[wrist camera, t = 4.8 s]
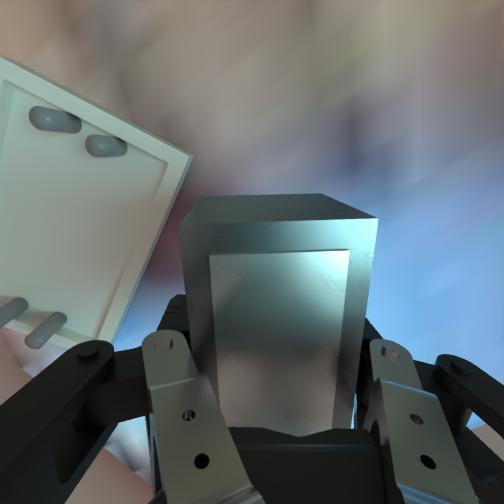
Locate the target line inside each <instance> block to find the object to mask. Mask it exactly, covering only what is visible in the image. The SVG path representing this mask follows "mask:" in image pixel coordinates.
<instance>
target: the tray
mask: <svg viewBox="0 0 504 504" xmlns="http://www.w3.org/2000/svg"><path fill="white" fill-rule="evenodd" d="M193 158H194V155H192V154H190V153H189V152H187V151H185V150H183V149H181V148H179V147H177V146H175V145H173V144H172V143H170V142H168V141H166V140H164V139H162V138H160V137H158V136H156V135H154V134H153V133H151V132H149V131H147V130H145V129H143V128H141V127H139V126H137V125H136V124H134V123H132V122H130V121H128V120H126V119H124V118H122V117H120V116H118V115H117V114H115V113H113V112H111V111H109V110H107V109H105V108H103V107H101V106H100V105H98V104H96V103H94V102H92V101H90V100H88V99H86V98H84V97H83V96H81V95H79V94H77V93H75V92H73V91H71V90H69V89H67V88H65V87H64V86H62V85H60V84H58V83H56V82H54V81H52V80H50V79H48V78H47V77H45V76H43V75H41V74H39V73H37V72H35V71H33V70H31V69H29V68H28V67H26V66H24V65H22V64H20V63H18V62H16V61H13V60H11V59H8V58H6V57H3V56H1V55H0V329H1V328H2V327H5V328H8V329H11V330H14V331H17V332H19V333H22V334H25V335H28V336H27V337H26V338H25V344H26V345H27V346H28V347H30V348H32V349H39V348H41V347H42V346H43V345H44V344H45V343H46V342H48V343H51V344H54V345H57V346H60V347H63V348H65V349H70V348H71V347H73V346H75V345H77V344H79V343H82V342H86V341H90V340H104V341H107V342H110V343H111V344H112V345H113V344H114V342H115V340H116V337H117V335H118V333H119V330H120V328H121V326H122V323H123V321H124V319H125V316H126V314H127V312H128V309H129V307H130V305H131V303H132V300H133V298H134V296H135V293H136V291H137V289H138V286H139V284H140V282H141V279H142V277H143V275H144V272H145V270H146V268H147V265H148V263H149V261H150V258H151V256H152V254H153V251H154V249H155V247H156V244H157V242H158V240H159V237H160V235H161V233H162V230H163V228H164V226H165V223H166V221H167V219H168V216H169V214H170V212H171V209H172V207H173V205H174V203H175V200H176V198H177V196H178V193H179V191H180V189H181V186H182V184H183V182H184V179H185V177H186V175H187V172H188V170H189V168H190V165H191V163H192V161H193Z"/></svg>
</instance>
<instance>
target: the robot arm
mask: <svg viewBox="0 0 504 504" xmlns="http://www.w3.org/2000/svg"><path fill="white" fill-rule="evenodd" d="M355 393H356V396H355V400H354V429H343V428H333V429H329V430H325V431H322V432H318V433H314V434H310V435H307V436H302V437H298V436H293V435H290V434H286V433H282V432H278V431H274V430H270V429H266V428H262V427H228V426H227V424H226V422H225V419H224V417H223V414H222V412H221V409H220V407H219V404H218V402H217V400H216V397H215V395H214V392H213V390H212V387H211V385H210V382H209V380H208V378H207V376H206V374H205V373H200V374H199V373H198V371H197V368H196V365H195V363H194V360H193V357H192V348H191V339H190V330H189V320H188V311H187V302H186V295H182V294H177V295H176V296H175V297H173V298H172V299H171V300H170V301H169V304H168V306H167V308H166V310H165V314H164V315H163V317H162V319H161V322H160V324H159V326H158V328H157V330H156V332H153V333H151V334H149V335H148V336H147V337H145V338H144V340H143V341H142V346H140V347H137V348H134V349H129V350H123V351H117V352H114V347H113V345H112V344H111V343H110V342H107V341H104V340H90V341H86V342H82V343H79V344H77V345H75V346H73V347H71V348H70V349H68V350H67V351H66V352H65V353H63V354H62V355H61V356H60V357H59V358H57V359H56V360H55V361H54V362H53V363H51V364H50V365H49V366H48V367H46V368H45V369H44V370H43V371H42V372H40V373H39V374H38V375H37V376H36V377H34V378H33V379H32V380H31V381H30V382H28V383H27V384H26V385H25V386H24V387H22V388H21V389H20V390H19V391H18V392H16V393H15V394H14V395H13V396H11V397H10V398H9V399H8V400H7V401H5V402H4V403H3V404H2V405H0V504H64V503H65V502H66V500H67V499H68V498H69V496H70V495H71V493H72V492H73V490H74V489H75V487H76V486H77V484H78V483H79V481H80V480H81V478H82V477H83V475H84V474H85V472H86V471H87V469H88V468H89V467H90V465H91V464H92V462H93V461H94V459H95V458H96V456H97V455H98V453H99V452H100V450H101V449H102V447H103V446H104V444H105V443H106V441H107V440H108V438H109V437H110V436H111V434H112V433H113V431H114V430H115V428H116V426H117V425H118V423H119V422H123V421H127V420H131V419H134V418H138V417H142V416H145V421H146V429H147V438H148V446H149V454H150V463H151V475H152V487H153V497H154V498H153V499H152V500H151V501H150V502H149V503H148V504H479V503H478V500H477V498H476V496H477V497H478V498H479V499H480V500H481V502H482V503H483V504H504V461H503V460H501V458H499V457H498V456H497V455H496V454H495V453H494V452H493V451H492V450H491V449H490V448H489V447H488V446H487V445H486V444H485V443H484V442H482V441H481V440H480V439H479V438H478V437H477V436H476V435H475V434H474V433H473V432H472V431H471V430H470V429H469V428H468V427H466V425H467V423H468V421H469V419H470V416H471V414H472V412H474V413H475V414H476V415H477V416H478V417H480V418H481V419H482V420H483V421H484V422H485V423H487V424H488V425H489V426H490V427H491V428H492V429H494V430H495V431H496V432H497V433H498V434H499V435H500V436H501V437H502V438H503V439H504V385H503V384H501V383H500V382H498V381H497V380H495V379H494V378H493V377H491V376H490V375H488V374H487V373H486V372H484V371H483V370H481V369H480V368H479V367H477V366H476V365H474V364H473V363H471V362H469V361H467V360H465V359H463V358H460V357H457V356H454V355H449V354H442V355H439V356H438V357H437V359H436V362H435V365H432V364H428V363H424V362H420V361H416V360H413V358H412V356H411V354H410V353H409V351H408V350H407V349H405V348H404V347H403V346H401V345H399V344H397V343H395V342H393V341H390V340H386V339H383V338H382V337H381V335H380V334H379V333H378V332H377V330H376V329H375V328H374V327H373V325H372V324H370V322H369V321H368V319H367V318H365V323H364V330H363V338H362V346H361V353H360V361H359V368H358V376H357V383H356V391H355Z"/></svg>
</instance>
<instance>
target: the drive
mask: <svg viewBox="0 0 504 504" xmlns="http://www.w3.org/2000/svg"><path fill="white" fill-rule="evenodd" d="M377 225H378V218H376V217H374V216H372V215H369V214H367V213H365V212H362V211H360V210H358V209H356V208H353V207H351V206H349V205H346V204H344V203H342V202H339V201H337V200H335V199H332V198H330V197H328V196H326V195H323V194H321V193H316V194H278V195H240V196H201V198H200V199H199V200H198V201H197V203H196V204H195V205H194V206H193V207H192V209H191V210H190V211H189V212H188V213H187V215H186V216H185V217H184V218H183V219H182V221H181V222H180V223H179V224H178V227H179V236H180V246H181V255H182V264H183V274H184V283H185V292H186V302H187V311H188V320H189V330H190V339H191V348H192V357H193V360H194V363H195V365H196V368H197V371H198V373H199V374H200V373H205V374H206V376H207V378H208V380H209V382H210V385H211V387H212V390H213V392H214V395H215V397H216V400H217V402H218V404H219V407H220V409H221V412H222V414H223V417H224V419H225V422H226V424H227V426H228V427H262V428H266V429H270V430H274V431H278V432H282V433H286V434H290V435H293V436H298V437H302V436H307V435H310V434H314V433H318V432H322V431H325V430H329V429H333V428H343V429H350V428H351V421H352V413H353V406H354V398H355V391H356V383H357V376H358V368H359V361H360V353H361V346H362V338H363V330H364V323H365V315H366V308H367V300H368V293H369V285H370V278H371V270H372V263H373V255H374V248H375V240H376V232H377Z"/></svg>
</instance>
